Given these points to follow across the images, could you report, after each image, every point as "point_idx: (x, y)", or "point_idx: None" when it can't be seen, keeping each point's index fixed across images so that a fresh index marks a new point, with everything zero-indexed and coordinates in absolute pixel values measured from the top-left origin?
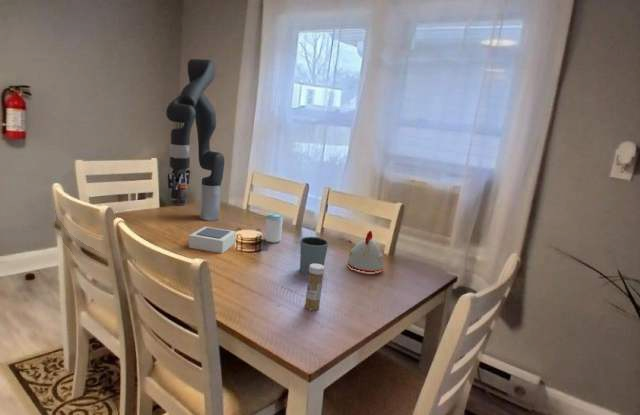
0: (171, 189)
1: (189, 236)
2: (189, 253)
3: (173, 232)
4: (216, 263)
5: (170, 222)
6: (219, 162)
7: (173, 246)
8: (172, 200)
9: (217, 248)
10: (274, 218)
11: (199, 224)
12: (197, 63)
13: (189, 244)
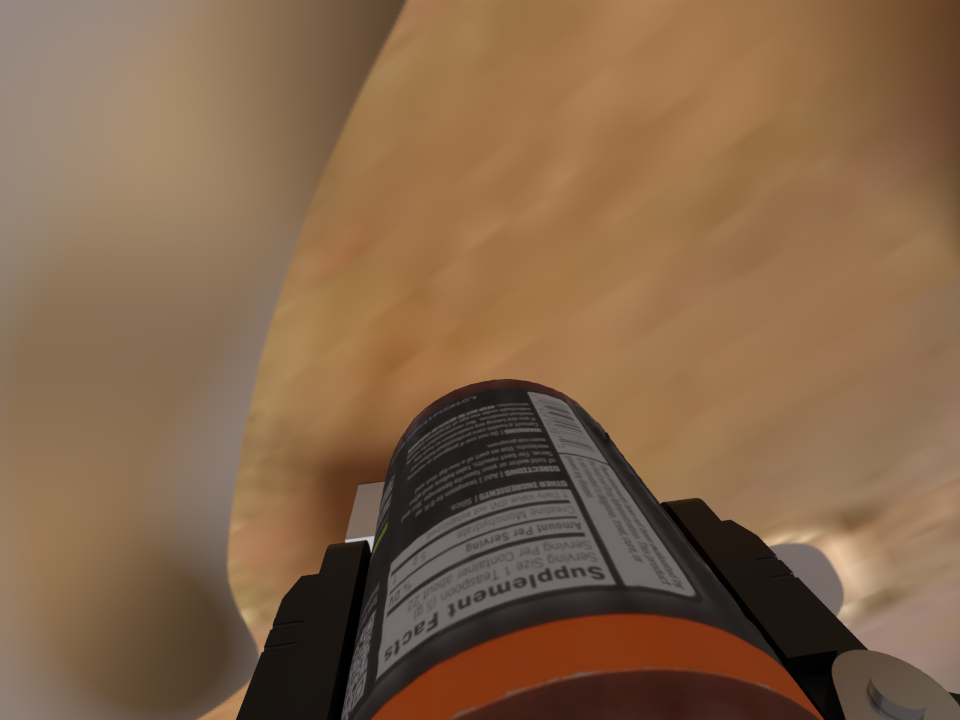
0: (380, 630)
1: (346, 535)
2: (271, 542)
3: (582, 219)
4: (242, 702)
5: (832, 17)
6: None
7: (312, 404)
8: (384, 493)
9: None
10: None
11: (863, 262)
12: None
13: (356, 500)
